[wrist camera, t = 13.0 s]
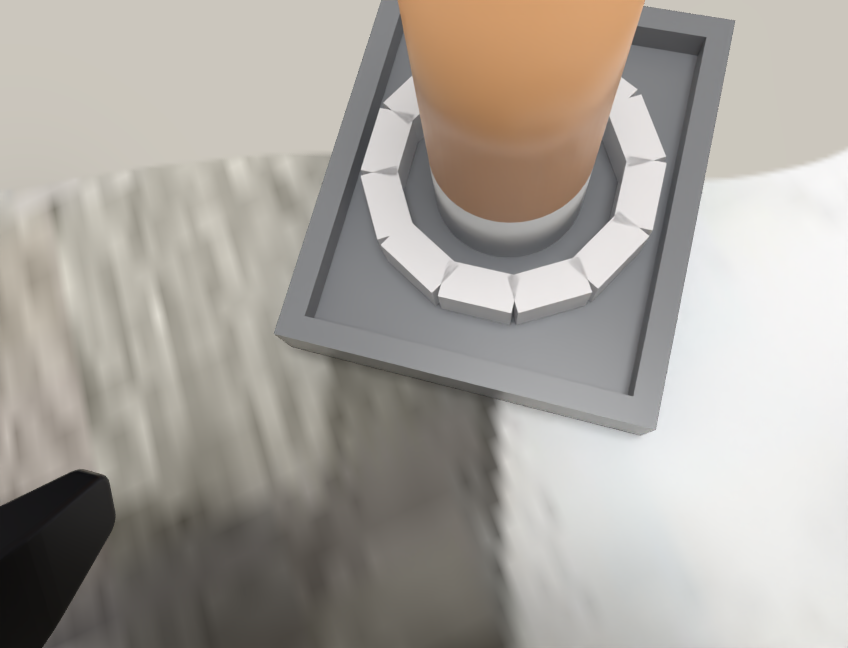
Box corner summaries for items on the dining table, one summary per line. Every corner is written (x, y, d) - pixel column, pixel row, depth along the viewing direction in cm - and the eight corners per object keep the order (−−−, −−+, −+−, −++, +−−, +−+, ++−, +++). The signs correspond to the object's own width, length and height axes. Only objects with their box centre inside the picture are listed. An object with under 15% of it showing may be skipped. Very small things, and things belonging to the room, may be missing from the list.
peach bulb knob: (452, 271, 23) (401, -3, 10) (422, 140, 24) (344, -252, 11) (601, 238, 22) (739, -87, 10) (562, 106, 24) (642, -330, 11)
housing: (640, 435, 22) (659, 428, 19) (291, 346, 24) (268, 330, 21) (716, 57, 25) (740, 10, 22) (399, 4, 26) (390, -44, 24)
